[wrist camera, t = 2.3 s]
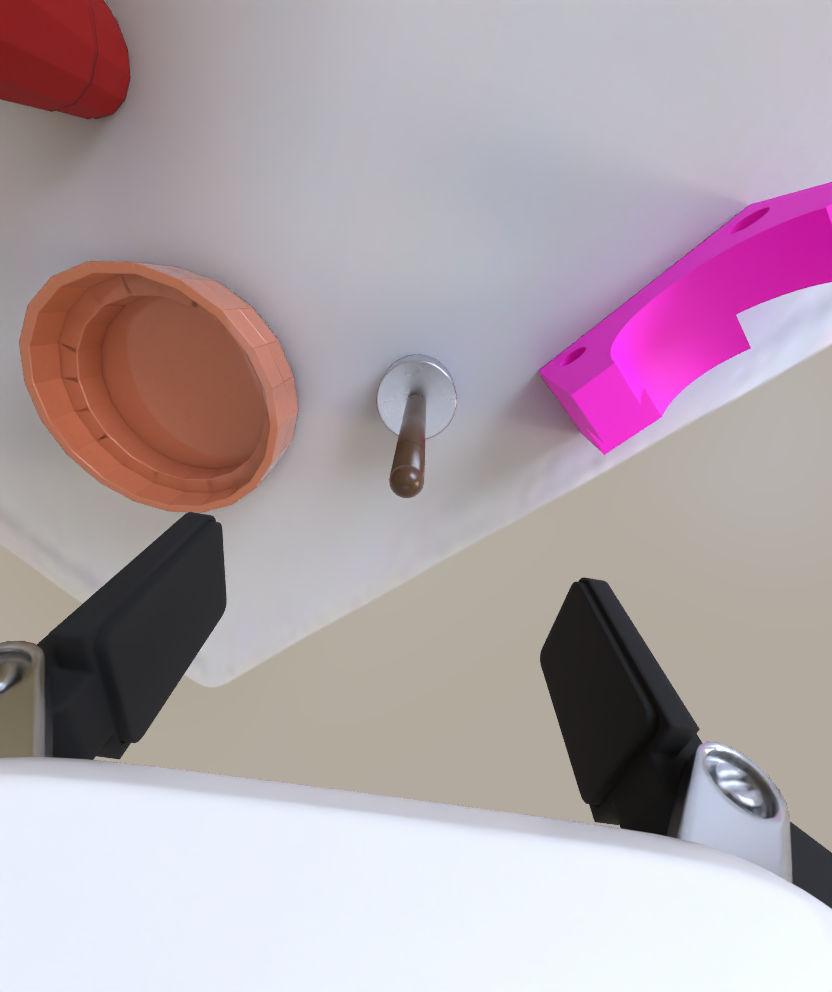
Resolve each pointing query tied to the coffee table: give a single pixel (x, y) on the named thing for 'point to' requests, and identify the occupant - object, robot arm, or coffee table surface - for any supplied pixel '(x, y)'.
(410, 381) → the meat pounder
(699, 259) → the toy block
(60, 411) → the bowl
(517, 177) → the coffee table surface
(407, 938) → the robot arm
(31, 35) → the plastic cup
